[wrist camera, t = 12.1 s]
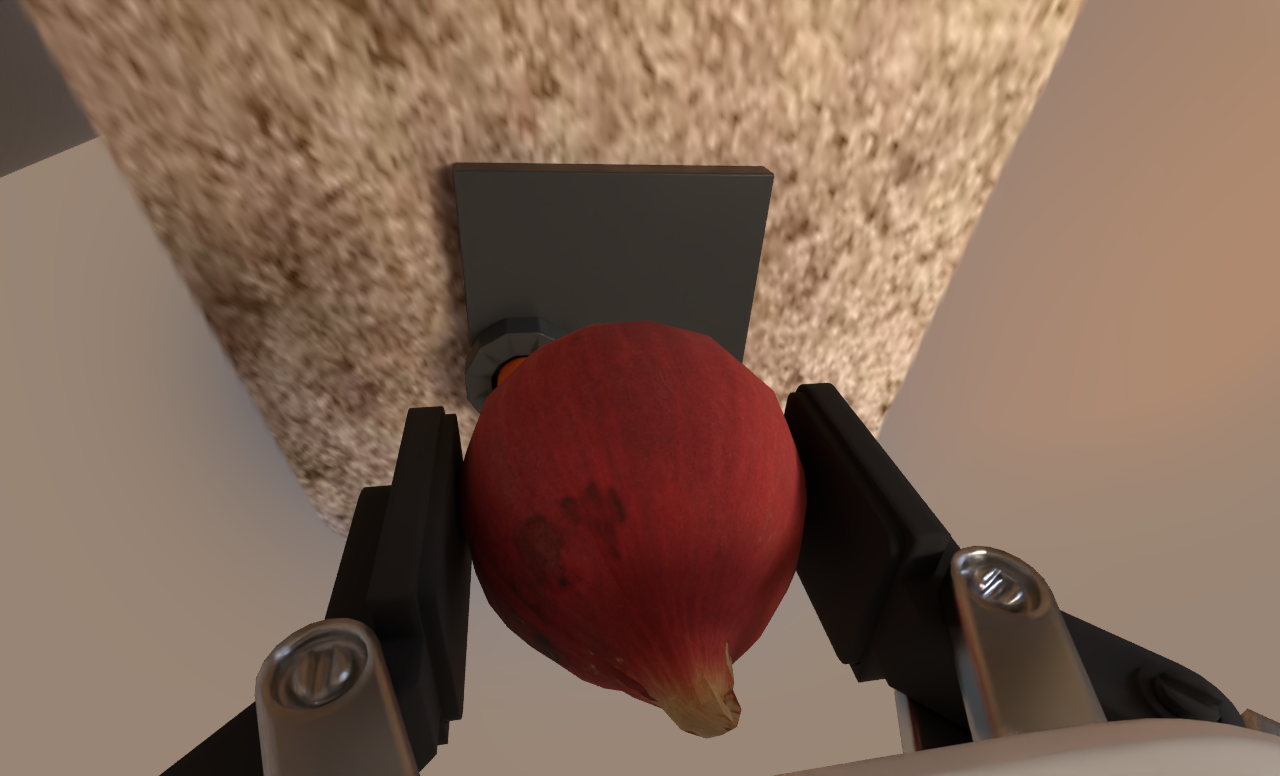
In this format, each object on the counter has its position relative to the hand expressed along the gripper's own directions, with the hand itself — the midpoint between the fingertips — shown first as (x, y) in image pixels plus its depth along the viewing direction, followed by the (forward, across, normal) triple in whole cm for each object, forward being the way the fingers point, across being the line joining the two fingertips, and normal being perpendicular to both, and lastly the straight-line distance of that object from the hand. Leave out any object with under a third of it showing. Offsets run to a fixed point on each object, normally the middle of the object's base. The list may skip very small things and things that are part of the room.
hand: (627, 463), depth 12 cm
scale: (+20, -3, +6) cm, 21 cm away
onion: (+3, 0, 0) cm, 3 cm away
